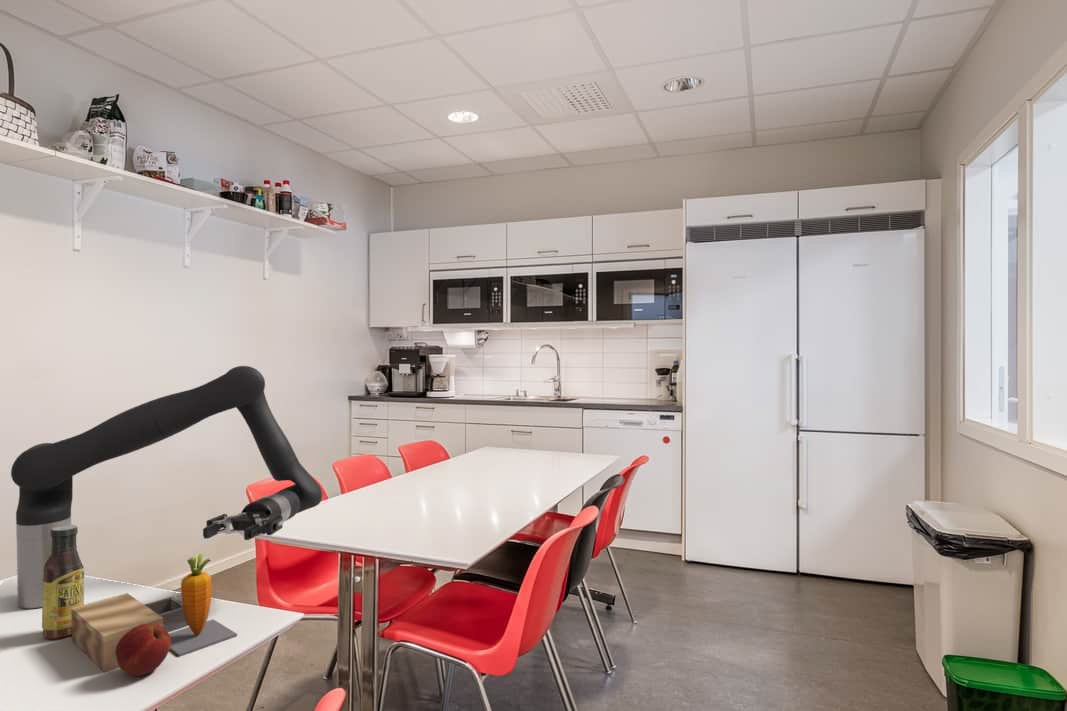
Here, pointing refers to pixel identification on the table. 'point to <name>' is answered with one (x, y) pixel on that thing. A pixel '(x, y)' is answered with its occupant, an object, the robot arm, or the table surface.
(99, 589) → the table surface
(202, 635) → the rubber mat
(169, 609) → the wooden drawer box
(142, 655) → the apple
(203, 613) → the carrot
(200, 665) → the table surface
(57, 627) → the sauce bottle
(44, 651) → the table surface
